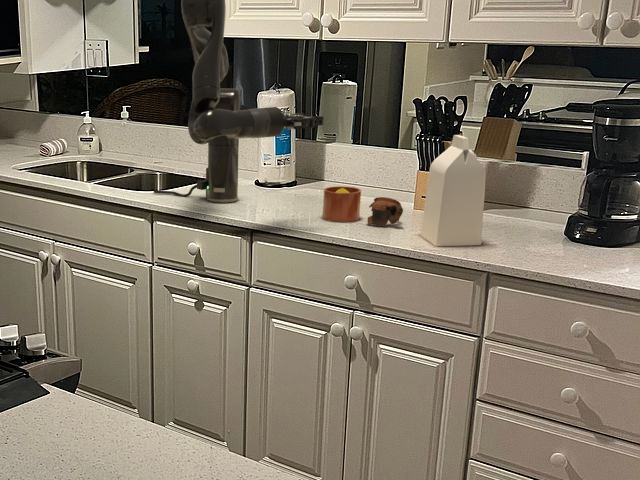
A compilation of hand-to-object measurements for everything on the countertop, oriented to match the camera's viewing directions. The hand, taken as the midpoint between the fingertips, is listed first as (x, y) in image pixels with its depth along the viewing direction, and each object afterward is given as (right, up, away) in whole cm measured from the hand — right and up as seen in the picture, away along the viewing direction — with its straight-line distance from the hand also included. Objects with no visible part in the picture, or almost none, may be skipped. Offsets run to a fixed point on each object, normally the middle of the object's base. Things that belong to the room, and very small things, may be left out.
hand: (313, 118), depth 249 cm
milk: (+33, -34, -10) cm, 49 cm away
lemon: (+10, -24, +14) cm, 30 cm away
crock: (+10, -24, +15) cm, 30 cm away
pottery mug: (+21, -27, +7) cm, 35 cm away
